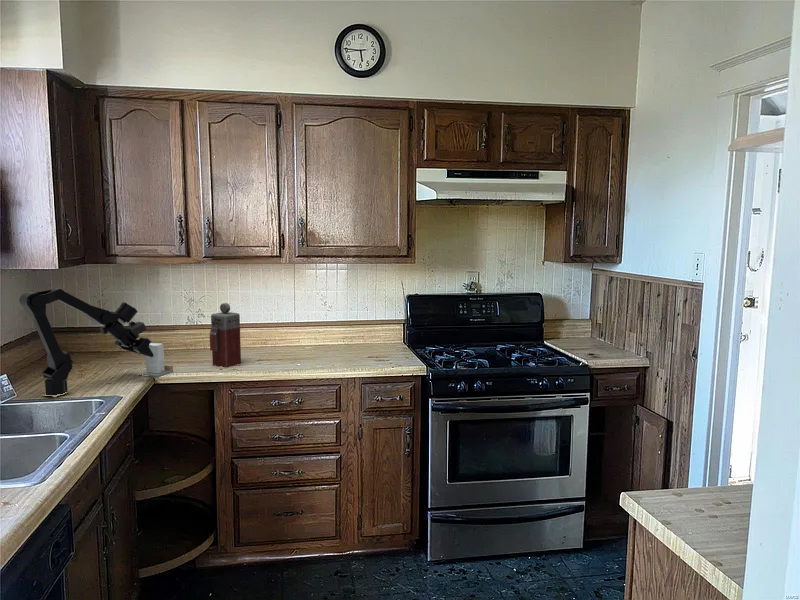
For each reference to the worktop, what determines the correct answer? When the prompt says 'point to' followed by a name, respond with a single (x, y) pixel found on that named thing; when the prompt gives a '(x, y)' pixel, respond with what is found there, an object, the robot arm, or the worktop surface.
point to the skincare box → (155, 359)
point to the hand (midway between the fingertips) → (146, 354)
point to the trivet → (167, 370)
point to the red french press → (225, 337)
